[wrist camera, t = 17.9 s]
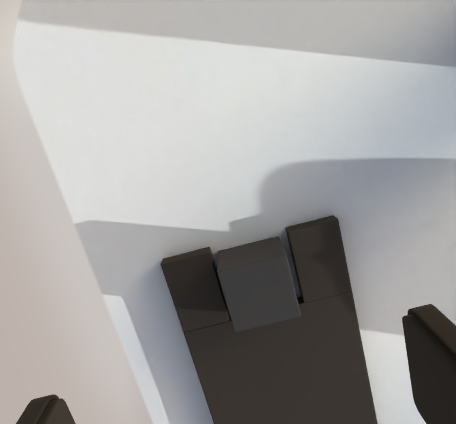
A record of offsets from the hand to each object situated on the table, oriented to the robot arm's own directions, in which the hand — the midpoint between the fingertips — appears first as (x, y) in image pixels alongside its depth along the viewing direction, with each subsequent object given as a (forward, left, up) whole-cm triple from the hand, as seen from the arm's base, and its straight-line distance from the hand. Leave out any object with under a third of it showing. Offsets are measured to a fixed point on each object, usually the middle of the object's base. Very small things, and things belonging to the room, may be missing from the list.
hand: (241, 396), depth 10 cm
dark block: (+2, -5, -20) cm, 20 cm away
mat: (+5, -17, -20) cm, 26 cm away
